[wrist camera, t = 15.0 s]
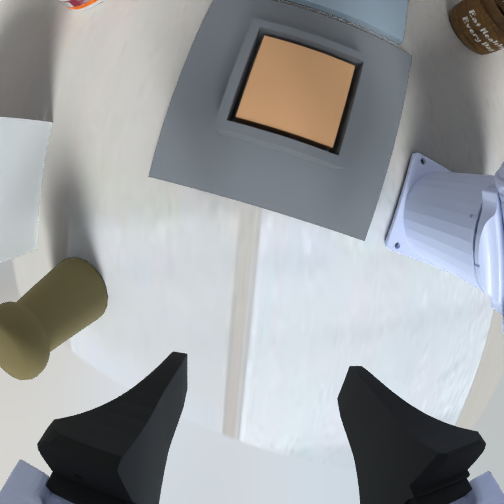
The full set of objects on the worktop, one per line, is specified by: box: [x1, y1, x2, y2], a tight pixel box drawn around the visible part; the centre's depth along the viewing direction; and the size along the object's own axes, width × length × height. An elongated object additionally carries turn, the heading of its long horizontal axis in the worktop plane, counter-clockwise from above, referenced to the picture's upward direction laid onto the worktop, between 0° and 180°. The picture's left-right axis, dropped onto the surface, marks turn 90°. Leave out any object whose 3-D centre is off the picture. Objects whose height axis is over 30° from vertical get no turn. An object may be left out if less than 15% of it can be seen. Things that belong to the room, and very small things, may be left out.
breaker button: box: [236, 35, 355, 150], centre depth 16 cm, size 6×6×2 cm
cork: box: [0, 258, 108, 380], centre depth 16 cm, size 6×6×11 cm
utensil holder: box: [449, 0, 504, 55], centre depth 9 cm, size 6×6×12 cm
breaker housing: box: [148, 0, 412, 241], centre depth 16 cm, size 16×16×4 cm
